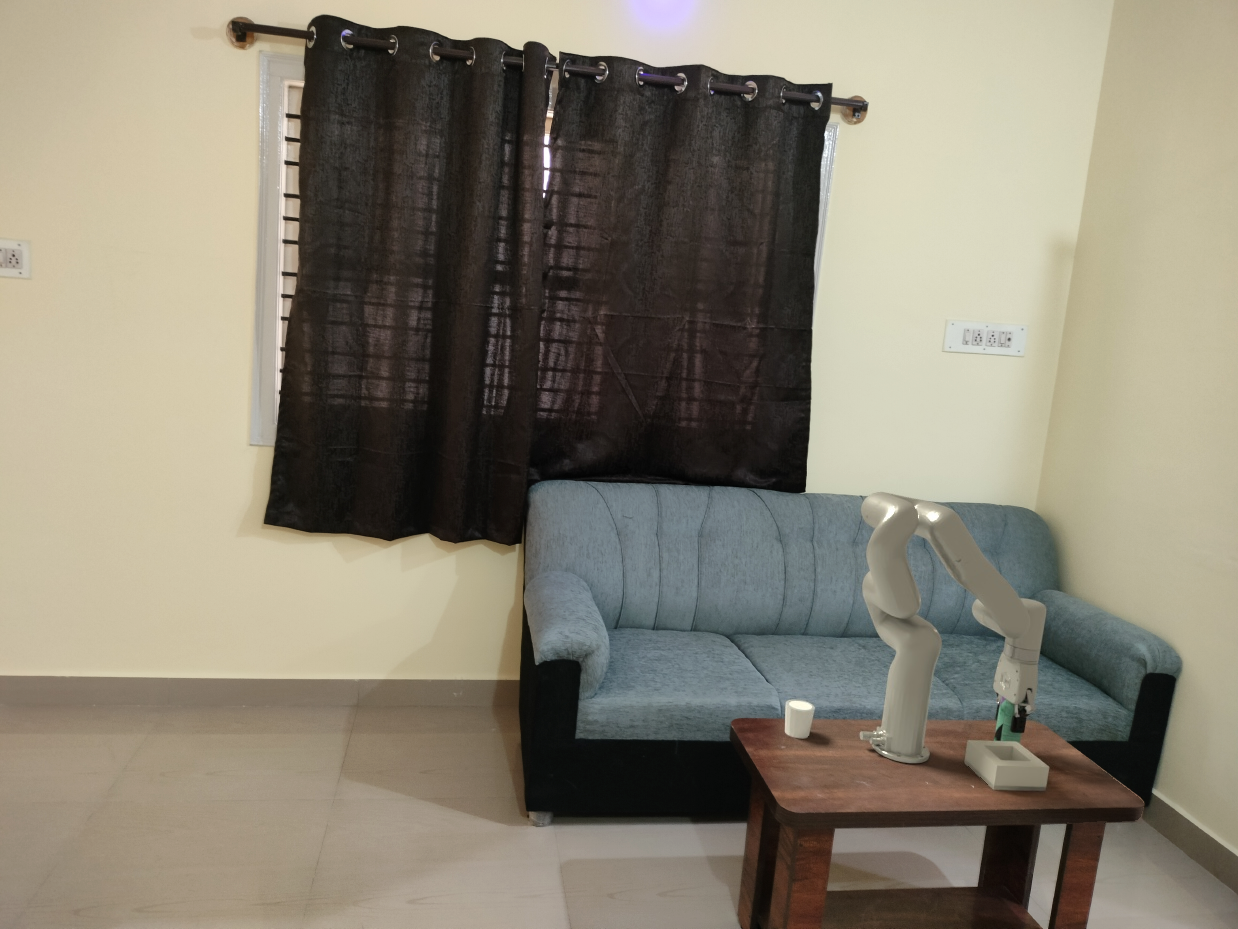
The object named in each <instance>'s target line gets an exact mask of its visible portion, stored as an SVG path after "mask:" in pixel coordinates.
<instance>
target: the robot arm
mask: <svg viewBox="0 0 1238 929" xmlns="http://www.w3.org/2000/svg"><path fill="white" fill-rule="evenodd" d="M860 508H861V509H860V512H861V513H860V514H861V516H862V518H863V521H864V522H865V523H866V524H867V525H868V526H870V527H872V528H873V529H874V530H873V532H872V533H871V536H870V539H869V541H868V543H867V546H866V552H865V554H866V563H867V566H868V569H869V571H868V572H867V573H866V574H865V576H864V577H863V581H862V585H861V588H862V589H861V592H862V596H863V600H864V602H865V605H866V608H867V609H868V612H869V615H870V618H871V621H872V623H873V625H874V628H875V631H876V633H877V634H878V636H879V638H880V639H881V640H882V641H883V643H885V644H886V645H888V646H889V647H890V648H892V649H893V650H894V651H895V656H894V658H893V660H892V661H891V664H890V665H889V666H890V667H889V670H888V674H887V679H886V681H887V682H886V690H885V697H884V704H883V705H884V706H883V712H882V720H881V726H876V730H873V731H865V730H864V731H863V730H862V731H860V732H859V738H860V740H862V741H869V743H870V745H871V746H872V748H873V750H874V751H875V752H877V753H878V754H879V755H881V756H883V757H885V758H887V759H890V760H892V761H896V762H901V763H904V764H906V763H907V764H921V763H924V762H927V761H928V760H929V758H930V750H929V749H928V747H927V746H925V745H924V743H925V735H926V729H927V724H928V723H927V721H928V714H929V708H930V707H929V706H930V701H931V700H930V699H931V691H932V684H933V681H934V680H933V678H934V673H935V669H936V666H937V662H938V659H939V657H940V653H941V651H942V645H943V644H942V642H943V641H942V638H941V634H940V632H939V631H938V629H937V628H936V627H935V626H934V625H933V624H932V623H931V622H930V621H928V620H926V619H925V618H923V617H922V616H920V615H918V613H919V611H920V609H921V607H922V606H921V605H922V597H921V592H920V590H919V587H918V585H917V582H916V580H915V577H914V574H913V571H912V569H911V566H910V563H909V560H908V555H907V547H908V544H909V543H910V540H911V539H912V537H913V536H914V535H916V536H918V537H921V538H923V539H926V540H927V542H928V543H929V544H930V546H931V547H932V549H933V551H934V552H935V554H936V556H937V557H938V559H939V560H940V562H941V563H942V564H943V566H944V568H945V569H946V571H947V573H948V574H949V576H950V577H951V578H952V579H953V580H954V581H955V582H956V583H958V584H959V585H960V586H961V587H962V588H963V589H965V590H966V591H967V592H969V593H970V594H971V595H973V596H974V597H975V600H974V601H973V604H972V606H971V613H972V615H973V617H974V619H975V620H976V621H977V622H978V623H979V624H980V625H983V626H984V627H986V628H987V629H990V630H992V631H993V632H995V633H997V634H998V635H1000V636H1002V637H1005V640H1004V645H1003V651H1002V652H1001V653H1000V657H999V659H998V663H997V666H996V671H995V674H994V680H993V686H992V688H993V690H994V692H995V694H996V697H997V698H996V703H997V705H996V712H995V717H994V718H995V719H994V720H996V721H997V719H998V713H999V706H1000V700H1001V696H1003V697H1004V698H1005V699H1006V700H1008V701H1009V702H1011V703H1012V704H1014V706H1015V715H1013V717H1012V723H1011V729H1010V731H1011V732H1012V733H1021V734H1024V733H1025V730H1026V724H1027V718H1029V717H1030V715H1031V714H1032V713H1034V712H1036V711H1037V708H1036V704H1035V699H1036V696H1037V689H1038V677H1039V675H1038V674H1039V672H1038V670H1039V668H1038V667H1039V664H1038V663H1039V660H1040V655H1041V654H1040V653H1041V646H1042V641H1043V635H1044V629H1045V623H1046V617H1047V607H1046V605H1045V603H1042V602H1040V601H1038V600H1035V599H1031V598H1026V597H1025V598H1024V597H1023V598H1022V597H1020V596H1019V594H1018V593H1017V592H1016V590H1015V589H1014V588H1013V587H1012V585H1011V584H1010V583H1009V582H1008V580H1006V579H1005V577H1003V575H1002V574H1001V573H1000V572H999V571H998V570H997V569H996V567H995V566H994V565H993V563H991V562H990V561H989V560H988V559H987V558H986V556H985V555H984V554H983V552H982V550H981V549H980V547H979V546H978V544H977V543H976V540H974V538H973V536H972V534H971V533H970V531H969V529H968V528H967V526H966V524H965V523H964V521H963V520H962V519H961V517H960V516H959V514H958V513H957V512H956V511H955V510H953V509H952V508H950V507H947V506H945V505H942V504H939V503H935V502H934V501H929V500H924V499H918V498H913V497H908V496H903V495H899V494H894V493H889V492H884V491H877V492H876V491H875V492H872V493H871V494H869V495H867V496H866V497H865V499H864V500H863V501H862V503H861V507H860ZM1005 685H1006V686H1005ZM1022 701H1024V703H1022ZM1020 706H1023V709H1021V710H1020Z"/></svg>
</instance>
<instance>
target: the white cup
mask: <svg viewBox="0 0 1238 929" xmlns="http://www.w3.org/2000/svg"><path fill="white" fill-rule="evenodd" d="M784 709H785V714H784V715H785V716H784V718H785V719H784V733H785V734H786V735H787V736H789V737H792V738H795V739H807V738H809V737H810V733H811V727H812V722H813V719H814V714H815V709H816V707H815V705H814V704H812V703H810V702H809V701H806V700H802V699H788V700H786V701H785V708H784ZM808 736H809V737H808Z"/></svg>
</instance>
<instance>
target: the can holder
mask: <svg viewBox="0 0 1238 929" xmlns="http://www.w3.org/2000/svg"><path fill="white" fill-rule="evenodd" d="M966 741H967V742H966V749H965V753H964V761H963V762H964V763H963V764H965V765H966V766H967V767H968V766H969V767H970V768H971V769H972V770H973V771H974V772H975V773H974V772H973V771H972V770H971V769H970V768H969V767H968V768H969V769H970V770H971V771H972V772H973V773H974V774H975V775H976V776H977V777H979V778H980V777H981V778H982V779H983V780H984V781H985V782H986V783H987V784H988V785H987V784H986V783H985V782H984V781H983V780H982V779H981V778H980V779H981V780H982V781H983V782H984V783H985V784H986V785H987V786H988V787H989V788H991V789H992V790H993V791H1021V792H1022V791H1024V792H1036V791H1037V792H1046V791H1047V790H1046V789H1047V785H1048V776H1049V770H1050V766H1049V765H1047V763H1045V762H1043V761H1042V760H1041V759H1040V758H1038V757H1037V756H1036V755H1035V754H1034V753H1032V751H1030V750H1028V749H1027V748H1026V747H1025V746H1023V745H1022V744H1021V743H1020V744H1019V743H1018V742H1015V741H994V740H977V739H974V740H973V739H967V740H966Z"/></svg>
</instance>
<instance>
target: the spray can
mask: <svg viewBox="0 0 1238 929" xmlns="http://www.w3.org/2000/svg"><path fill="white" fill-rule="evenodd" d="M1005 686H1006V685H1005ZM1022 703H1024V701H1022ZM1021 709H1023V706H1020V710H1021ZM1013 715H1015V706H1014V704H1012V703H1011V702H1009V701H1008V700H1006V699H1005V698H1004V697H1003V696H1001V700H1000V706H999V713H998V719H997V720H996V725H995V733H994V737H993V741H1015V742H1018V743H1019V744H1021V739H1022V733H1012V732H1011V731H1010V729H1011V723H1012V717H1013Z"/></svg>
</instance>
